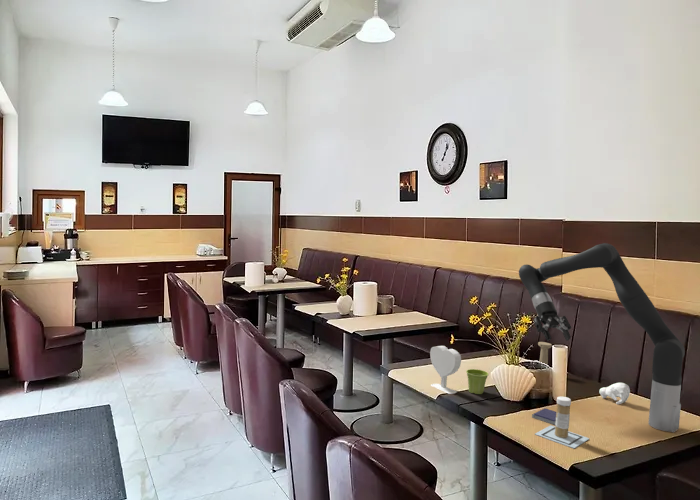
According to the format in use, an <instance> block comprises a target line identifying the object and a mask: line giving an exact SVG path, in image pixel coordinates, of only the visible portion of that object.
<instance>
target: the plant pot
mask: <svg viewBox="0 0 700 500" xmlns="http://www.w3.org/2000/svg"><path fill="white" fill-rule="evenodd" d="M465 372H466V375H467V382H468V384H467V385H468V392H469V393H470V394H475V395H483V393H484V390H485V387H486V386H485V385H486V381H487V379H488V376H489V372H488V371H486V370H482V369H475V368H469V369H466V370H465Z"/></svg>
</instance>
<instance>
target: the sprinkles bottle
mask: <svg viewBox="0 0 700 500" xmlns="http://www.w3.org/2000/svg"><path fill="white" fill-rule="evenodd" d="M571 404H572V400H571V398H569V397H568V396H557V398H556V411H555V412H556V423H555V425H554V426H555V435H556V436H558V437H561V438H567V437H568V431H569V427H570V417H571V416H570V415H571V414H570V412H571V406H572V405H571Z"/></svg>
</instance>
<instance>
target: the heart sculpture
mask: <svg viewBox="0 0 700 500" xmlns="http://www.w3.org/2000/svg"><path fill="white" fill-rule="evenodd" d="M429 355H430V362H431V365H432V366H433V368H434V370H435V372H436V373H437V374H438V375H439V377H440V383H432V384H430V387H432V388H435V389H437V390H439V391H441V392H444V393H447V394H449V395H450V394H456V393H458V391H456V390H454V389H451V388H450V387H447V385H448V384H447V383H448V382H447V380H448V377H449V376H451V375H454V374H455V373H456V372H458V371H459V369H460V367H461V363H462V355H461V354H460V352H458V350H456V349H453V348H449V349H448V347H446V346H445V345H437V346H432V347H431V348H430V352H429Z"/></svg>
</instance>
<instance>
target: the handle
mask: <svg viewBox="0 0 700 500" xmlns="http://www.w3.org/2000/svg"><path fill="white" fill-rule="evenodd" d="M537 345H538V346H539V347H540V353H539V354H540V355H539V361H538V363H539V362H542V363H545V364H547V365H548V364H549V349H551V348H552V343H549V342H545V341H538V342H537Z"/></svg>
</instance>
